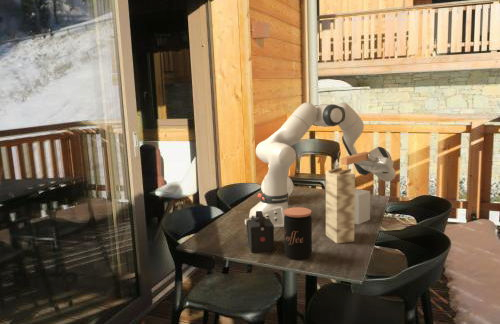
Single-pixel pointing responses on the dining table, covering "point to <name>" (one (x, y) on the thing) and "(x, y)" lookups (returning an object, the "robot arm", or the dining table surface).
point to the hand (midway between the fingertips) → (363, 155)
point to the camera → (260, 233)
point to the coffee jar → (297, 233)
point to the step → (361, 206)
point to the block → (354, 158)
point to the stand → (340, 205)
